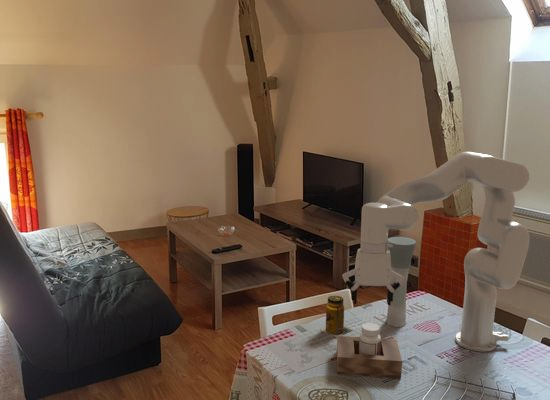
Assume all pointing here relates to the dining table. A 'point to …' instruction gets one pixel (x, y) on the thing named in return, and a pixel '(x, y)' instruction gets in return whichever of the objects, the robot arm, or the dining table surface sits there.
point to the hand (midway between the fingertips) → (371, 302)
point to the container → (400, 265)
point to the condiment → (335, 317)
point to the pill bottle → (370, 340)
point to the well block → (368, 359)
